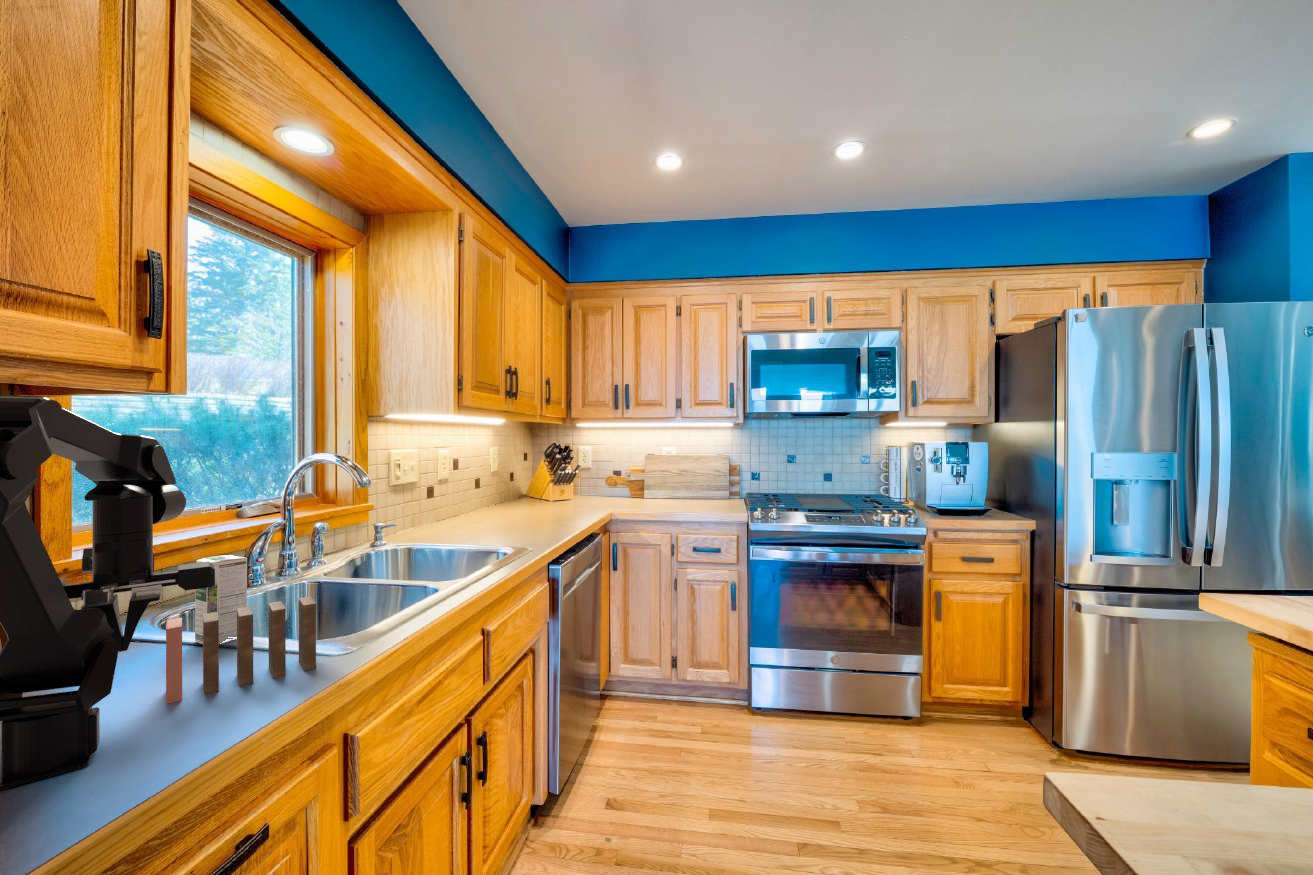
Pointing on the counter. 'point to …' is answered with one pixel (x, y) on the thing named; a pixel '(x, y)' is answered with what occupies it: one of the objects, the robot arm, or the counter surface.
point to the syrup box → (222, 595)
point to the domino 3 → (244, 646)
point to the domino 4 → (277, 639)
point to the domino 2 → (210, 653)
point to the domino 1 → (174, 660)
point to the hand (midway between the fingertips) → (123, 650)
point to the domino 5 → (307, 633)
